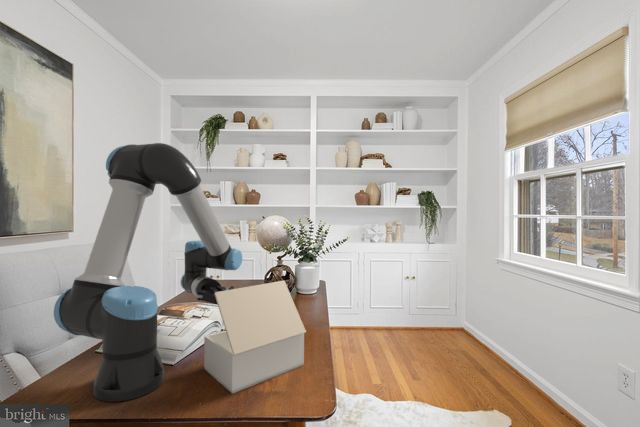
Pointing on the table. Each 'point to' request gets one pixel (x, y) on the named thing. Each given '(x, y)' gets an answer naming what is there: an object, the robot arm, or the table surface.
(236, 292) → the lid flap
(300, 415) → the table surface
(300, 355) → the mailer box
